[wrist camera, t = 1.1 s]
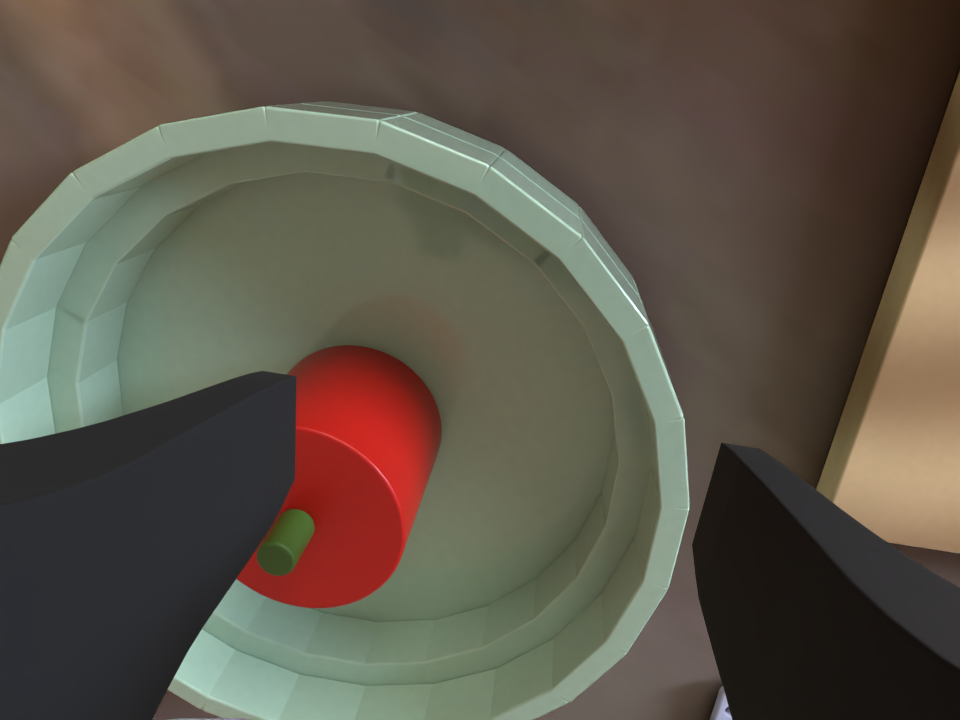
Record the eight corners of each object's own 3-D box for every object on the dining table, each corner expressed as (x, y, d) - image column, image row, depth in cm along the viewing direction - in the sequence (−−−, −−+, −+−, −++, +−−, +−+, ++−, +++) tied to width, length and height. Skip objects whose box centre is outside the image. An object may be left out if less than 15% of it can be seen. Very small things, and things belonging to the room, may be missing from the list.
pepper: (435, 507, 22) (384, 669, 16) (277, 482, 22) (169, 632, 16) (449, 357, 20) (397, 477, 14) (275, 332, 20) (151, 440, 14)
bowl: (605, 680, 25) (613, 801, 21) (115, 596, 26) (29, 694, 22) (730, 146, 18) (780, 166, 13) (47, 66, 19) (-99, 63, 15)
